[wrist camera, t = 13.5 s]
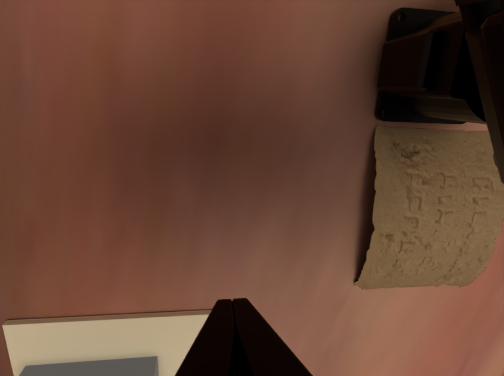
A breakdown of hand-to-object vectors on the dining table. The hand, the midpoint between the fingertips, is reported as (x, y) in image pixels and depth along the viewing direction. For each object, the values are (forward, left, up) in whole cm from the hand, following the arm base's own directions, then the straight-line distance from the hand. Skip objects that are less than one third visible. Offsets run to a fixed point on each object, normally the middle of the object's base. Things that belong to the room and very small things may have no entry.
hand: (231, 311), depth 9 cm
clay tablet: (-15, +2, -13) cm, 20 cm away
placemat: (+7, +16, -12) cm, 21 cm away
